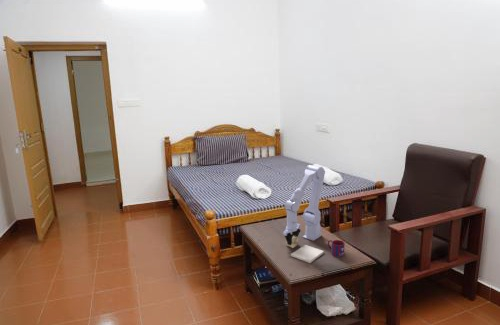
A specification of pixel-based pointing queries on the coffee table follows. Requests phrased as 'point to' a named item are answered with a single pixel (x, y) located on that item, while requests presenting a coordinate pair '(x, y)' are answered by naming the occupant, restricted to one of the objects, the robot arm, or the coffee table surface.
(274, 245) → the coffee table surface
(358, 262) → the coffee table surface
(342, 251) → the mug
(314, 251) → the ceramic tile
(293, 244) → the maple cube
